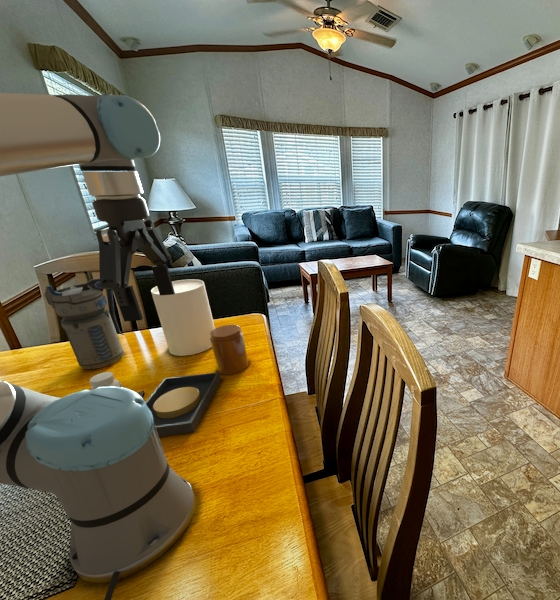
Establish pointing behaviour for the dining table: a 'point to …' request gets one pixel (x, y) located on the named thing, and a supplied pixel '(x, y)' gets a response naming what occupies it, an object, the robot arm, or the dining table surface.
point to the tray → (192, 418)
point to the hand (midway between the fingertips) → (152, 306)
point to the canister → (185, 317)
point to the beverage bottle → (88, 323)
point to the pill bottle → (104, 380)
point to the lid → (177, 402)
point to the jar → (229, 349)
